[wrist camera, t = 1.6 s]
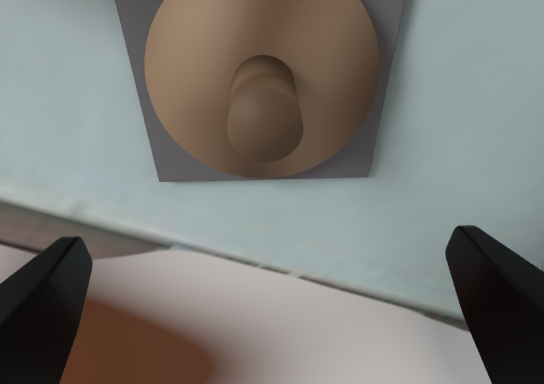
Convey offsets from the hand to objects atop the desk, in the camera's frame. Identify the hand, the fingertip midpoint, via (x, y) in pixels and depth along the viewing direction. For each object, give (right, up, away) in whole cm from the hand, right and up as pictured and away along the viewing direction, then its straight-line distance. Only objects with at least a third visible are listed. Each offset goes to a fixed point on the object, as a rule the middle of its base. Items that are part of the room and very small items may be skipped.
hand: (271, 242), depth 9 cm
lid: (0, +7, +8) cm, 11 cm away
